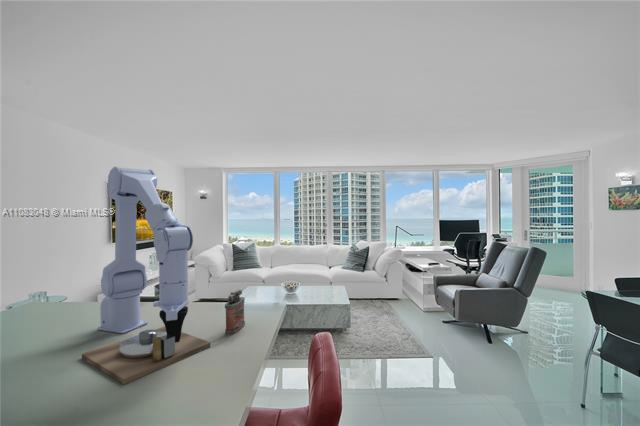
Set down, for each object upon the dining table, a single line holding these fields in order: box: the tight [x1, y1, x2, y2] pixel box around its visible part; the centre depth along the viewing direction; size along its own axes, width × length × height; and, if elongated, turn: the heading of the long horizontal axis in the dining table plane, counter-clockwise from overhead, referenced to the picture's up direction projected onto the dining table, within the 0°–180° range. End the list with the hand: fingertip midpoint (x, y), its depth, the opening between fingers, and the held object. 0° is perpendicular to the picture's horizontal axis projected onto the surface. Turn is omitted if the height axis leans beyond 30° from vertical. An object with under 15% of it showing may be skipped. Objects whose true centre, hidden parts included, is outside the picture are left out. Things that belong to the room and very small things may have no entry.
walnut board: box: [81, 325, 211, 385], centre depth 72 cm, size 19×19×6 cm
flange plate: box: [120, 328, 175, 358], centre depth 71 cm, size 11×14×4 cm
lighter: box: [224, 289, 246, 336], centre depth 85 cm, size 8×3×10 cm, turn 168°
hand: (174, 341), depth 70 cm, fingers closed, pressing on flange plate
